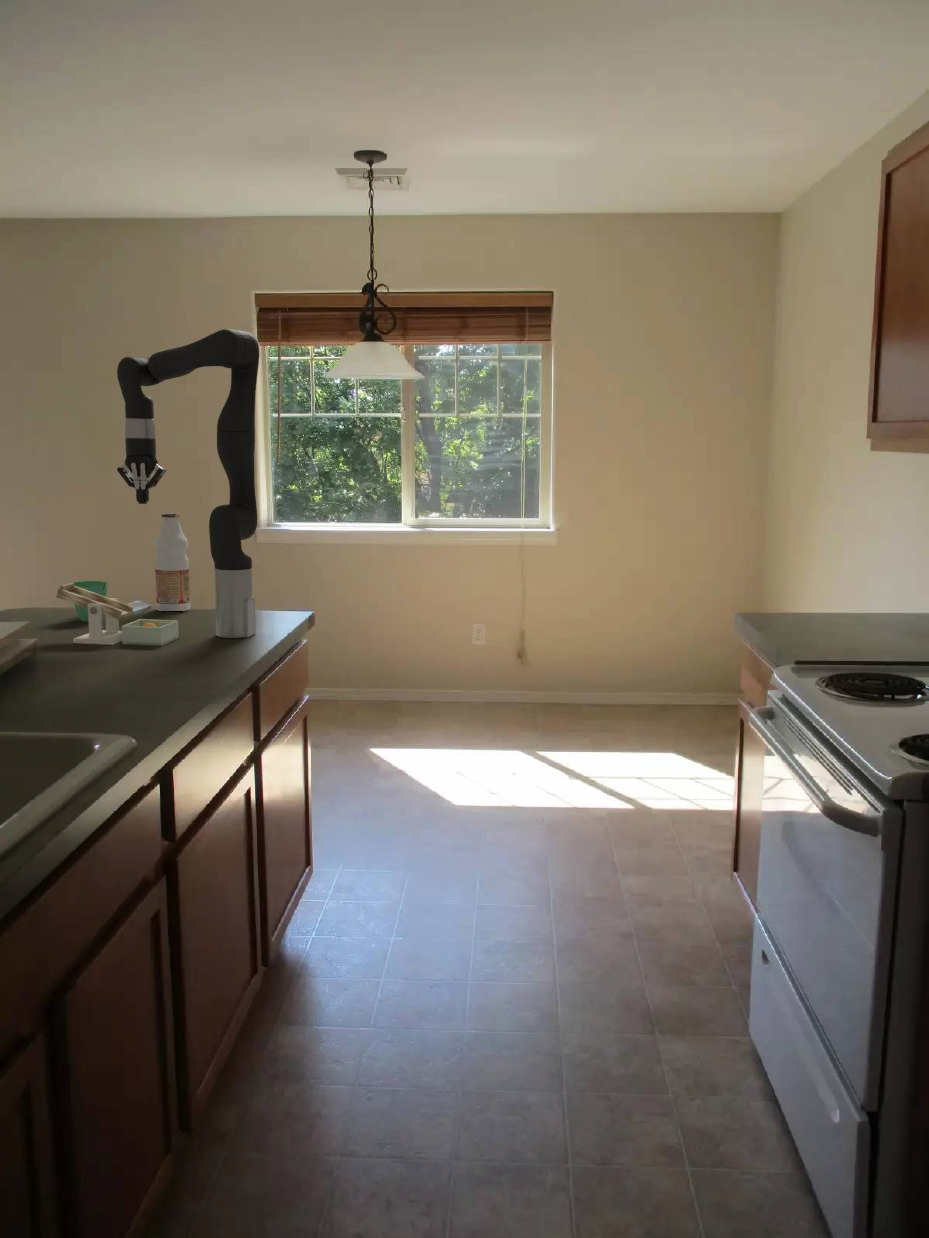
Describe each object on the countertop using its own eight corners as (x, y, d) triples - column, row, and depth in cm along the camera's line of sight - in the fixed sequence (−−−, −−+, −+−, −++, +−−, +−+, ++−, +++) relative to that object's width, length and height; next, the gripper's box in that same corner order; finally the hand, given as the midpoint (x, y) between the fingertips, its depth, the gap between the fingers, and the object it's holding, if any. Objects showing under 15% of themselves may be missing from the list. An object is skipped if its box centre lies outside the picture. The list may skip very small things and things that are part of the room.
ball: (153, 618, 248) (141, 627, 249) (146, 621, 244) (134, 630, 245) (163, 631, 249) (151, 640, 249) (156, 634, 245) (144, 643, 246)
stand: (134, 635, 254) (133, 598, 252) (112, 644, 242) (110, 605, 241) (97, 633, 255) (95, 596, 254) (73, 643, 244) (71, 604, 242)
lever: (150, 608, 260) (153, 598, 260) (120, 620, 244) (123, 608, 243) (90, 587, 261) (92, 576, 261) (56, 597, 245) (59, 585, 244)
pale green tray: (178, 638, 252) (178, 620, 251) (161, 646, 242) (161, 627, 241) (140, 636, 253) (139, 618, 252) (122, 644, 243) (121, 626, 242)
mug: (107, 622, 271) (106, 585, 269) (68, 623, 268) (66, 586, 266) (112, 613, 285) (110, 578, 283) (75, 614, 282) (73, 578, 280)
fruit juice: (164, 613, 285) (161, 514, 280) (151, 609, 293) (148, 512, 288) (195, 610, 291) (193, 513, 286) (182, 606, 298) (179, 511, 294)
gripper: (170, 437, 264) (172, 503, 267) (122, 436, 266) (125, 502, 269) (158, 437, 257) (160, 505, 260) (109, 436, 259) (112, 504, 262)
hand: (142, 503), depth 265 cm, fingers closed
